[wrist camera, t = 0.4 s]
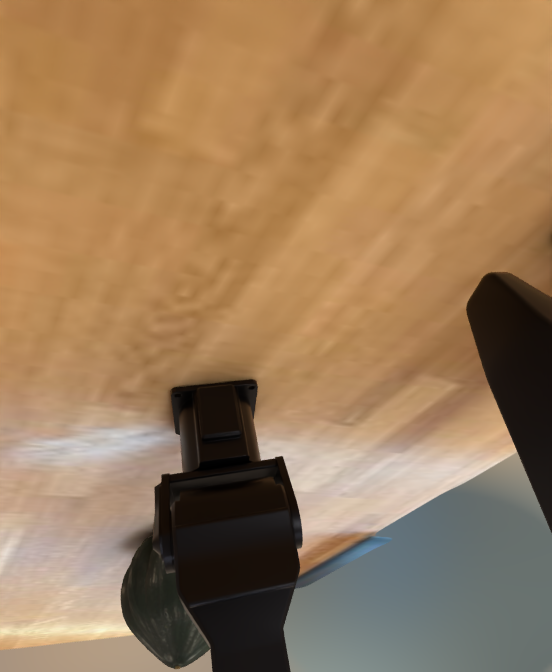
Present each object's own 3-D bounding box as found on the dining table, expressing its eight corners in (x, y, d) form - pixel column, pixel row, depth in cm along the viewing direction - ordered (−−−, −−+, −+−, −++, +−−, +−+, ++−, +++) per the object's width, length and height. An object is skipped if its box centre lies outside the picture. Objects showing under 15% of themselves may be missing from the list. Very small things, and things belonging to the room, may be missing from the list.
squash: (233, 591, 66) (256, 680, 51) (122, 605, 62) (114, 706, 47) (238, 497, 64) (263, 561, 50) (124, 504, 60) (117, 578, 46)
